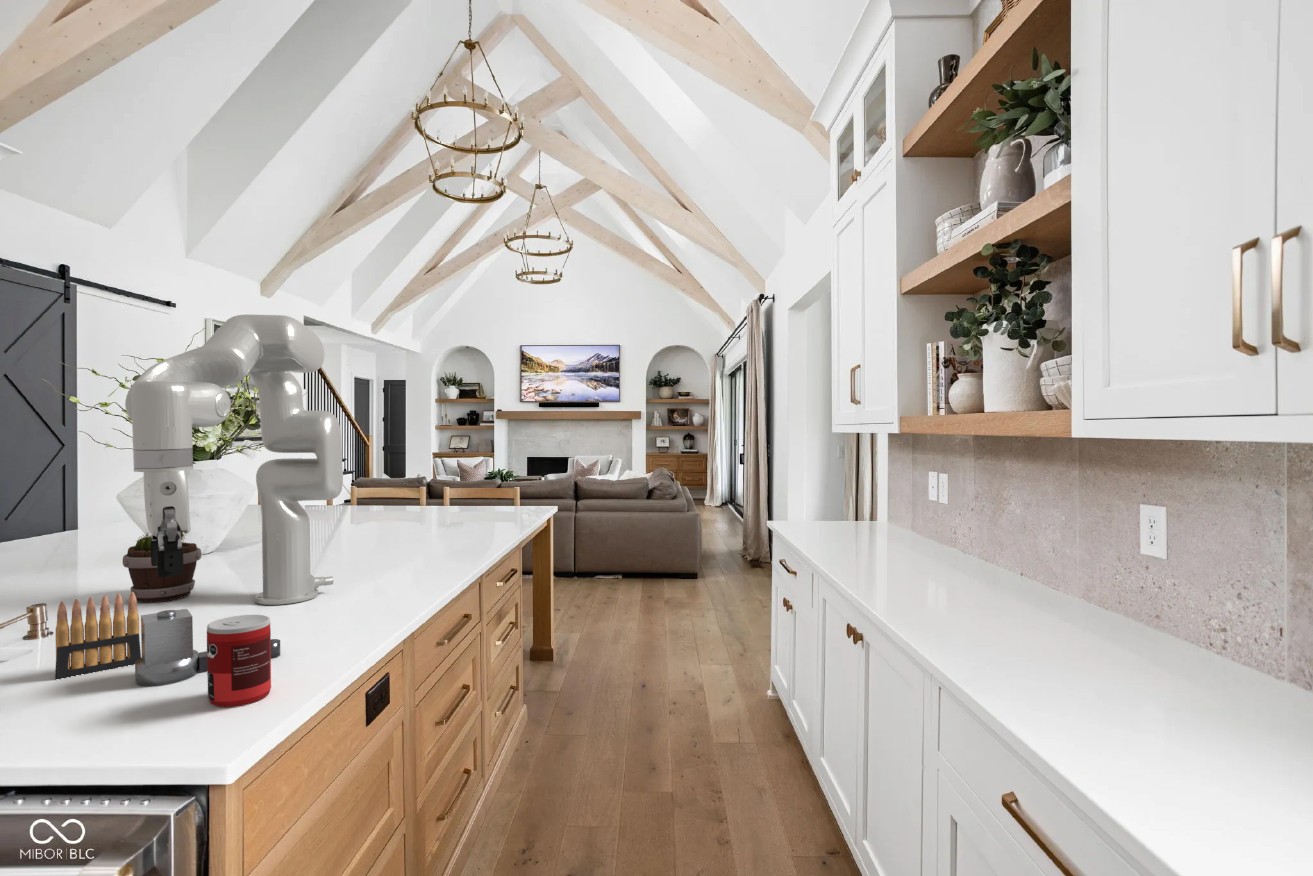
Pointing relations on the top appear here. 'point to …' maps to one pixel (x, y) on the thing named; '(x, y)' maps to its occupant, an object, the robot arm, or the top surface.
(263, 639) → the canned food
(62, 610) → the ammunition clip
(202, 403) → the robot arm
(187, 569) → the flowerpot
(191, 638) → the socket
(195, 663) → the ratchet
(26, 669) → the top surface
